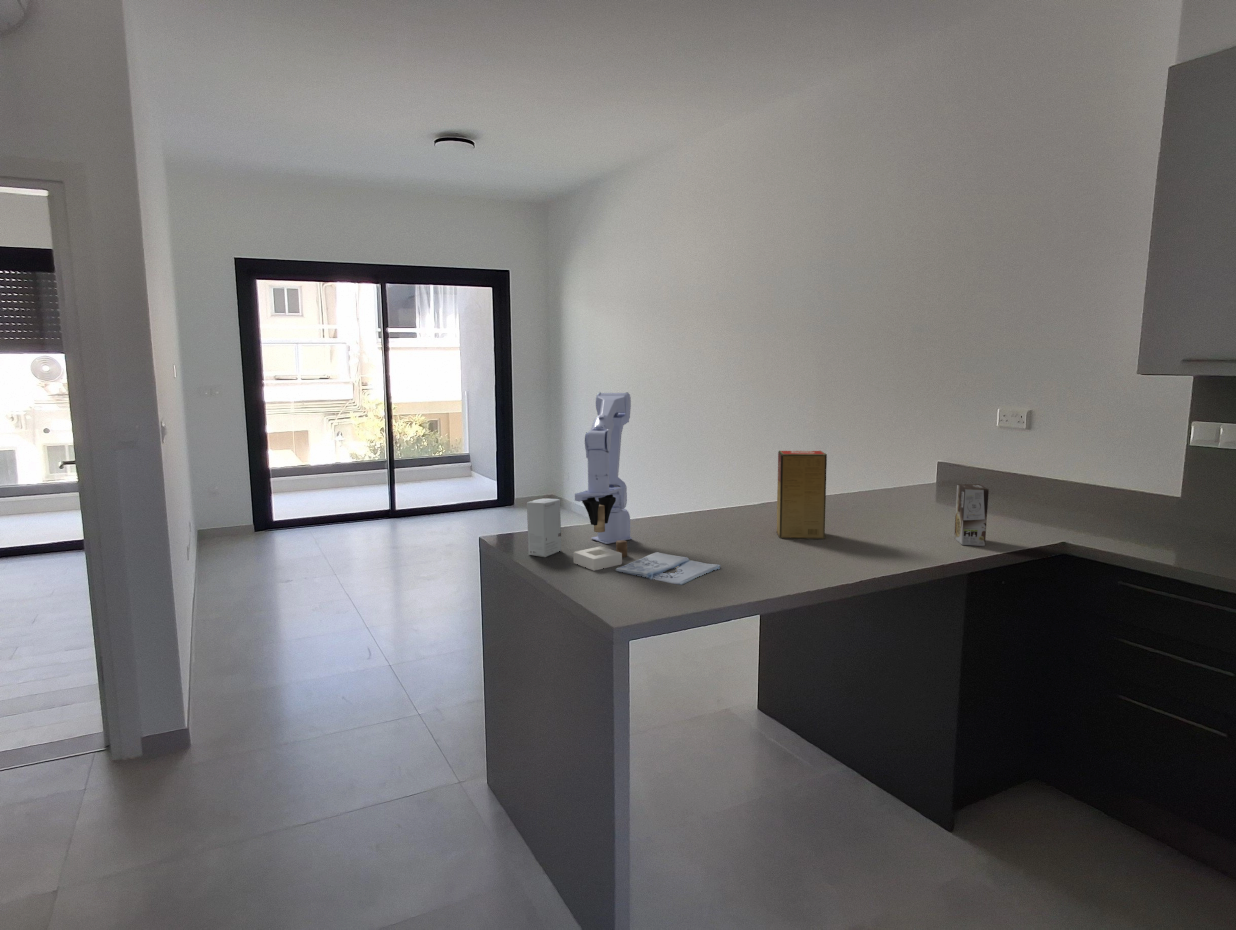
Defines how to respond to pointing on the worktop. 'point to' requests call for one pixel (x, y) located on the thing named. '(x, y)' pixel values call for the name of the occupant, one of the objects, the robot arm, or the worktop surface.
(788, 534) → the food packaging
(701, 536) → the worktop surface
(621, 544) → the walnut dowel
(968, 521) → the coffee box
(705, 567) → the folded cloth
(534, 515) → the skincare box
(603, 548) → the socket block
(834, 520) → the worktop surface
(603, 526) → the oak dowel
